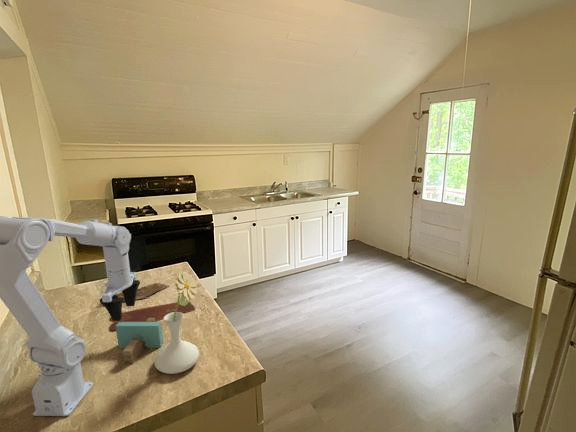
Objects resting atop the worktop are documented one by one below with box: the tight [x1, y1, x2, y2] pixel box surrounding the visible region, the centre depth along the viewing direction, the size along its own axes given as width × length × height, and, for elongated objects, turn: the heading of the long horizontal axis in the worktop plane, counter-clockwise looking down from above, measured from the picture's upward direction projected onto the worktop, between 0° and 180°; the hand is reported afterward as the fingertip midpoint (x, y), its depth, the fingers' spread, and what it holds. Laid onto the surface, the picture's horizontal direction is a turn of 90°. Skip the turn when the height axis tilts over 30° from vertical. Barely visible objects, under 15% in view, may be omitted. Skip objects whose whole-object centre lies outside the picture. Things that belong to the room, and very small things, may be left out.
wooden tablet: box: [108, 301, 196, 332], centre depth 110 cm, size 27×10×2 cm, turn 118°
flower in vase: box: [154, 271, 201, 375], centre depth 84 cm, size 13×11×25 cm
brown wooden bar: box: [122, 318, 156, 365], centre depth 93 cm, size 16×2×4 cm, turn 0°
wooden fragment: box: [95, 282, 170, 308], centre depth 123 cm, size 26×11×1 cm, turn 127°
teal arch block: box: [115, 321, 164, 349], centre depth 93 cm, size 12×2×7 cm, turn 90°
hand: (124, 312), depth 92 cm, fingers open, 7 cm apart
